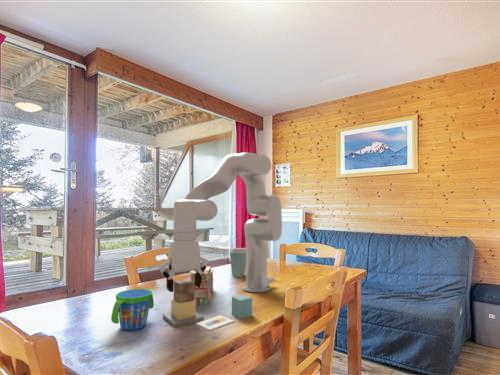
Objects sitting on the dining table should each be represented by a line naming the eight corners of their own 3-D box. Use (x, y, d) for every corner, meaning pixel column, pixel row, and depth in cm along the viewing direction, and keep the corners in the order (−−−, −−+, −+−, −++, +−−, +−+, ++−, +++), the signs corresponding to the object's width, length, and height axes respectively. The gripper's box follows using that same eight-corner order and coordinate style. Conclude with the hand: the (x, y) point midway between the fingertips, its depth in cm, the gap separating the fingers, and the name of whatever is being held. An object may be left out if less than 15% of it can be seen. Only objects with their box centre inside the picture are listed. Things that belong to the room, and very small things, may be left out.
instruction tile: (220, 316, 103) (220, 314, 103) (234, 321, 98) (234, 320, 98) (195, 324, 95) (195, 322, 95) (209, 330, 91) (209, 329, 91)
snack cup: (141, 315, 103) (142, 285, 103) (164, 321, 98) (165, 289, 98) (99, 332, 89) (100, 297, 90) (123, 340, 84) (124, 302, 85)
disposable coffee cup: (226, 274, 166) (227, 246, 167) (245, 273, 169) (245, 246, 170) (231, 278, 156) (231, 249, 156) (251, 277, 159) (251, 248, 160)
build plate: (190, 311, 107) (190, 293, 107) (203, 320, 99) (204, 301, 99) (162, 317, 101) (163, 298, 101) (174, 327, 93) (175, 306, 93)
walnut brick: (187, 296, 104) (187, 278, 104) (193, 300, 100) (194, 281, 100) (173, 299, 101) (173, 280, 101) (179, 303, 97) (180, 284, 97)
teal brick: (243, 311, 107) (243, 294, 108) (251, 315, 103) (252, 297, 104) (231, 314, 104) (231, 296, 105) (239, 318, 100) (240, 300, 101)
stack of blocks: (199, 290, 135) (199, 262, 136) (213, 290, 135) (213, 262, 136) (190, 305, 114) (190, 272, 114) (207, 305, 114) (207, 272, 114)
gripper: (202, 234, 110) (202, 282, 109) (155, 237, 99) (154, 290, 98) (213, 236, 104) (212, 286, 103) (163, 239, 93) (163, 296, 92)
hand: (184, 288), depth 101 cm, fingers open, 9 cm apart
